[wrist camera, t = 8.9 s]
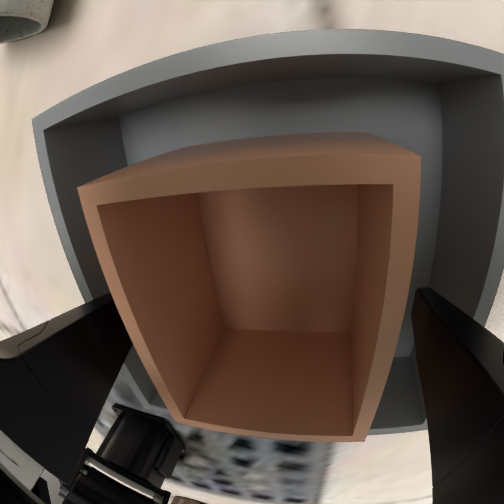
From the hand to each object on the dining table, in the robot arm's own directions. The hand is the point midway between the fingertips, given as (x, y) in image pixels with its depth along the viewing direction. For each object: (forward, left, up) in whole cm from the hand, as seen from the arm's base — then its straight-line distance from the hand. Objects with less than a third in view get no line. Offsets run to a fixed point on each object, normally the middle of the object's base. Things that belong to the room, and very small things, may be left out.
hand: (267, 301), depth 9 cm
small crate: (0, 0, -4) cm, 4 cm away
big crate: (0, 0, -4) cm, 4 cm away
